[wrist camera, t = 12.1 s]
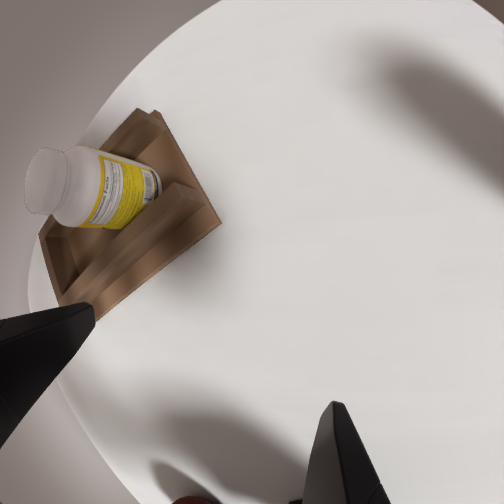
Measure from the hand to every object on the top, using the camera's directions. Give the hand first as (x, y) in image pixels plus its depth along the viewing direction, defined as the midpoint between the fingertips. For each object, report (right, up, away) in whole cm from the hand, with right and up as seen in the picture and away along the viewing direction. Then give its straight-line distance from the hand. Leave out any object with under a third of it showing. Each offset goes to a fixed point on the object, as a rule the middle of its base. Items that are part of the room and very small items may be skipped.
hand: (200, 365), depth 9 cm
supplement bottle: (-7, +8, +13) cm, 17 cm away
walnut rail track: (-10, +6, +15) cm, 19 cm away
